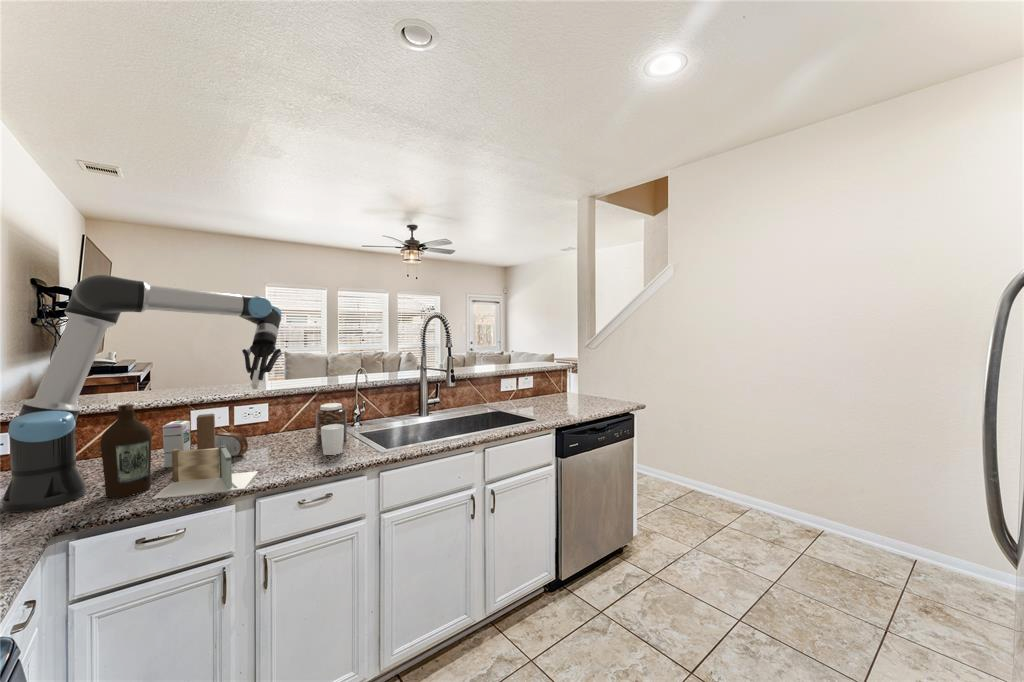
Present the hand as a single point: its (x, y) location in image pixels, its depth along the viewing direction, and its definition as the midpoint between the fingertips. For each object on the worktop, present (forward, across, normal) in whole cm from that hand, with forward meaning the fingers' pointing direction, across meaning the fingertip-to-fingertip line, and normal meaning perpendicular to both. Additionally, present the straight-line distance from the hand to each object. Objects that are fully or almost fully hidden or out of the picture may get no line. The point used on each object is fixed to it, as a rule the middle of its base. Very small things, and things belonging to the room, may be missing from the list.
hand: (254, 386), depth 143 cm
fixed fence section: (+30, +11, -7) cm, 32 cm away
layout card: (+34, +7, -3) cm, 34 cm away
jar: (+7, -23, -31) cm, 39 cm away
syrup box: (+17, +24, -21) cm, 36 cm away
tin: (+12, +11, -25) cm, 30 cm away
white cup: (+19, -25, -19) cm, 36 cm away
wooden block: (+23, +15, -14) cm, 31 cm away
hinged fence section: (+34, +2, -2) cm, 34 cm away
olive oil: (+33, +27, -4) cm, 43 cm away
